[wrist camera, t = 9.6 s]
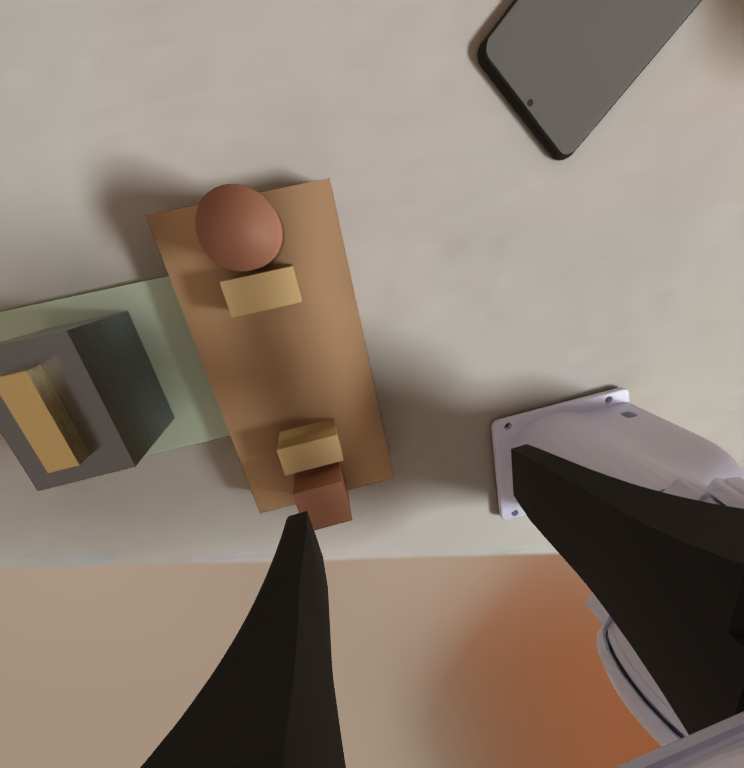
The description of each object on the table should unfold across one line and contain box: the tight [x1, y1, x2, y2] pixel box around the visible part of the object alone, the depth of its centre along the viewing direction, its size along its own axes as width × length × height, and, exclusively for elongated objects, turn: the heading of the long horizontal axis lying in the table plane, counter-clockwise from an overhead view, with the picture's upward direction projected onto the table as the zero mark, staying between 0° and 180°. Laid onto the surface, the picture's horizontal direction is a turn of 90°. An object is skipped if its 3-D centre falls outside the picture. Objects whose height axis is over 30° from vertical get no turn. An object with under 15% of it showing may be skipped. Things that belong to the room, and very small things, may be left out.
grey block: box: [0, 311, 175, 491], centre depth 17 cm, size 4×6×6 cm, turn 11°
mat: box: [0, 276, 230, 457], centre depth 20 cm, size 9×9×1 cm
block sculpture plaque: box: [146, 178, 394, 530], centre depth 19 cm, size 8×16×5 cm, turn 11°
